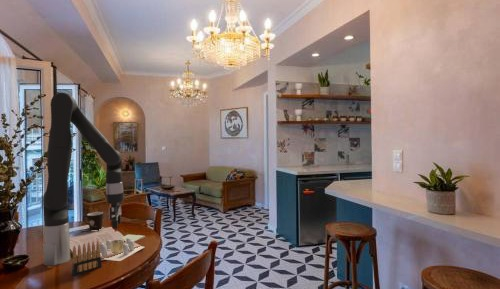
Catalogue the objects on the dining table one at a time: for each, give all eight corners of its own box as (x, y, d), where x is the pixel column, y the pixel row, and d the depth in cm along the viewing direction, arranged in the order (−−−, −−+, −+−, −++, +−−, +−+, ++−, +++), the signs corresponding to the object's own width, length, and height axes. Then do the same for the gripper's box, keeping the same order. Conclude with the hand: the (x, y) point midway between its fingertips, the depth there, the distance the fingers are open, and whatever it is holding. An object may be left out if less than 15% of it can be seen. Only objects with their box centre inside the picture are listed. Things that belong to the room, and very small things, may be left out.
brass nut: (117, 254, 143) (117, 243, 143) (108, 253, 145) (108, 243, 144) (125, 250, 149) (125, 239, 149) (117, 249, 150) (116, 239, 150)
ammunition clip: (100, 267, 131) (99, 239, 131) (101, 268, 130) (100, 240, 130) (72, 275, 124) (71, 245, 124) (73, 276, 123) (72, 246, 122)
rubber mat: (131, 244, 159) (131, 242, 159) (114, 242, 162) (114, 240, 162) (145, 237, 170) (144, 235, 170) (128, 235, 173) (128, 234, 173)
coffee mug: (106, 229, 187) (106, 212, 187) (93, 233, 180) (92, 216, 179) (95, 226, 193) (95, 210, 193) (82, 230, 186) (81, 214, 185)
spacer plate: (120, 262, 135) (119, 250, 135) (87, 258, 141) (86, 247, 141) (145, 247, 153) (144, 237, 153) (115, 245, 158) (114, 235, 158)
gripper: (120, 194, 140) (122, 229, 141) (125, 189, 154) (127, 221, 154) (102, 195, 138) (104, 231, 139) (109, 190, 152) (111, 222, 153)
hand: (116, 226), depth 147 cm, fingers open, 8 cm apart
